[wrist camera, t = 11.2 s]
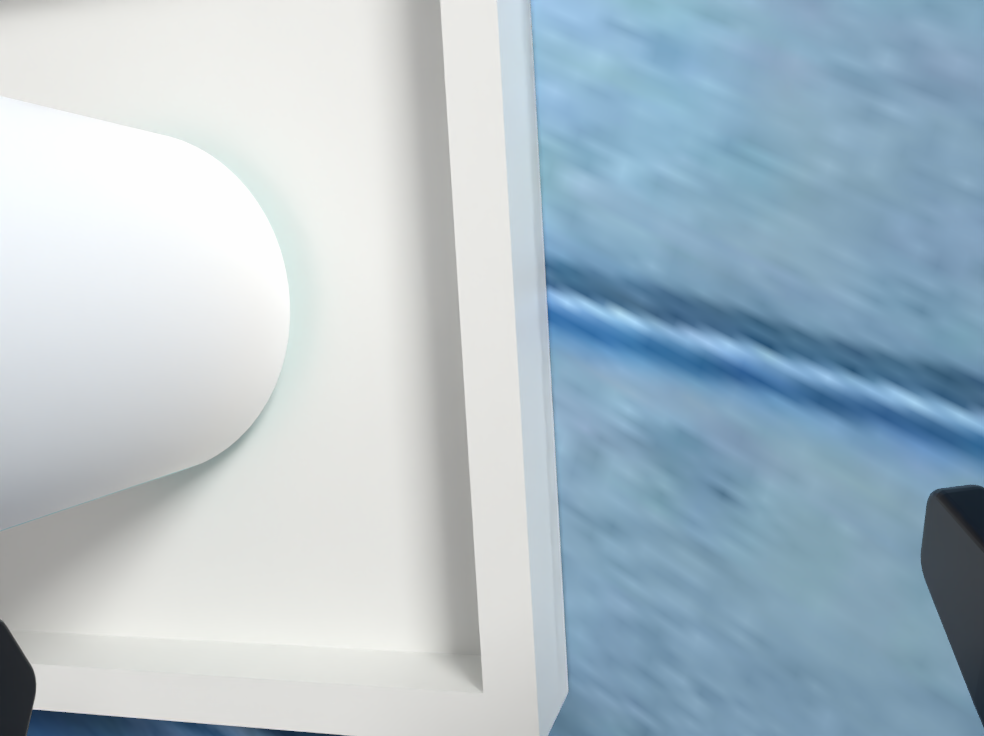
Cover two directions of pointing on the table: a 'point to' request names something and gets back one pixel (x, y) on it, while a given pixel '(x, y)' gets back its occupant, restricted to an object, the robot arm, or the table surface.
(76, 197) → the can
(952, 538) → the robot arm
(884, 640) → the table surface
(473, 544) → the tray
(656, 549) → the table surface
